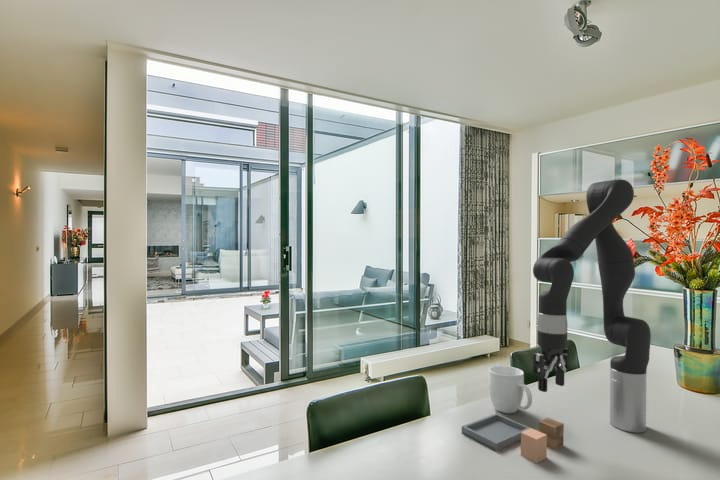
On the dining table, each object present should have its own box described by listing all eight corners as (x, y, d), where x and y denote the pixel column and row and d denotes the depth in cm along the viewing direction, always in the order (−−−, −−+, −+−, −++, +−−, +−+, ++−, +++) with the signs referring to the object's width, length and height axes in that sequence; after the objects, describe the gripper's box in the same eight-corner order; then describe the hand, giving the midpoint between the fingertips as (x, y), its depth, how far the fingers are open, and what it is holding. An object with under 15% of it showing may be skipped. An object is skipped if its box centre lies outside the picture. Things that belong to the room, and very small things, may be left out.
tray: (496, 419, 127) (496, 413, 127) (531, 435, 117) (531, 428, 117) (461, 433, 118) (461, 426, 118) (496, 451, 108) (496, 443, 108)
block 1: (530, 450, 108) (530, 428, 108) (546, 457, 105) (546, 434, 105) (520, 455, 106) (520, 432, 106) (536, 463, 102) (536, 439, 102)
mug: (541, 416, 129) (541, 375, 129) (520, 424, 123) (520, 381, 123) (502, 400, 142) (502, 363, 142) (481, 407, 136) (481, 368, 136)
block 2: (547, 438, 115) (548, 417, 115) (563, 445, 111) (563, 423, 111) (538, 443, 112) (539, 421, 112) (554, 450, 109) (554, 427, 109)
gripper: (550, 335, 105) (550, 398, 105) (579, 329, 113) (578, 387, 113) (524, 330, 111) (524, 389, 111) (553, 324, 119) (552, 379, 119)
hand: (551, 388), depth 112 cm, fingers open, 8 cm apart
